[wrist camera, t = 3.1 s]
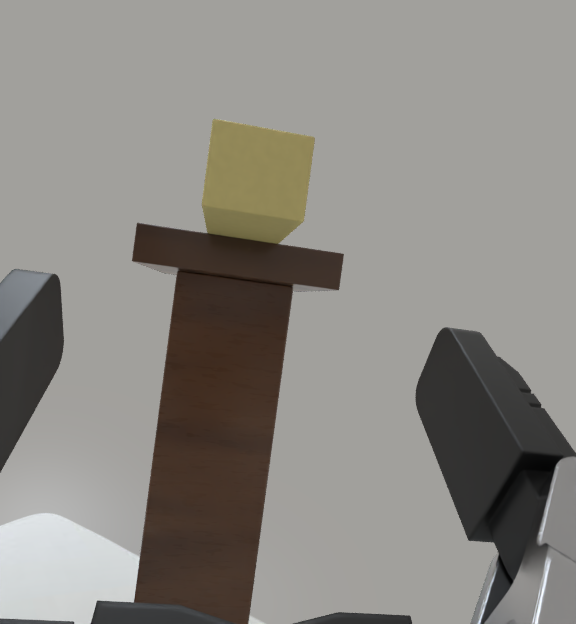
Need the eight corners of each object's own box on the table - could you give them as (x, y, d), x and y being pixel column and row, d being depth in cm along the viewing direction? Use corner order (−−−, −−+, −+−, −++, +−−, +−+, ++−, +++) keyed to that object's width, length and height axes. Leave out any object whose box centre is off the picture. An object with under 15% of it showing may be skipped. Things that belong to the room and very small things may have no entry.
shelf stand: (272, 844, 27) (352, 255, 27) (46, 849, 26) (126, 221, 25) (255, 660, 41) (307, 268, 41) (107, 655, 40) (159, 247, 39)
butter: (304, 222, 18) (315, 136, 18) (201, 206, 18) (212, 117, 18) (261, 258, 37) (267, 216, 37) (211, 251, 37) (216, 208, 37)
